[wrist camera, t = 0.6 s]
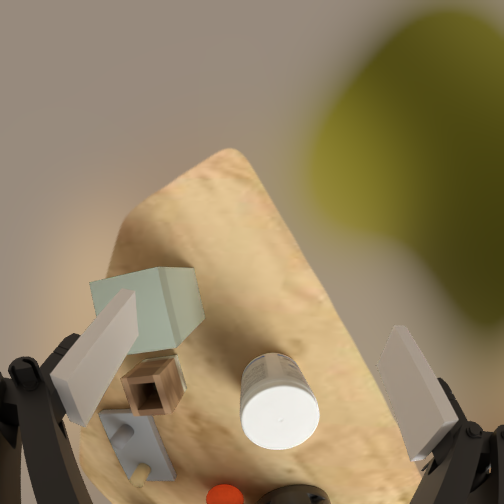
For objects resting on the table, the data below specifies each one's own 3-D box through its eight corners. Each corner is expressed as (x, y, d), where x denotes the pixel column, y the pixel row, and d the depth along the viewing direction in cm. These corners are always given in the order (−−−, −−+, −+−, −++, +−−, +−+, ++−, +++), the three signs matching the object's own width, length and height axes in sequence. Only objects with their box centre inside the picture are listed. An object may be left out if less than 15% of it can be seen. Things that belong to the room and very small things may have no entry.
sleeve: (186, 387, 45) (172, 413, 35) (154, 391, 45) (133, 416, 35) (177, 354, 46) (159, 374, 36) (144, 359, 45) (120, 378, 35)
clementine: (211, 502, 44) (207, 524, 37) (197, 480, 44) (191, 503, 37) (249, 497, 44) (248, 520, 37) (237, 474, 44) (235, 498, 37)
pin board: (176, 475, 44) (168, 496, 37) (132, 474, 44) (120, 493, 37) (149, 407, 45) (135, 425, 38) (102, 409, 45) (85, 425, 38)
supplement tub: (247, 407, 45) (245, 456, 30) (237, 356, 46) (230, 392, 31) (305, 398, 45) (323, 443, 30) (298, 345, 46) (316, 377, 31)
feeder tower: (205, 320, 46) (177, 350, 27) (158, 328, 46) (108, 359, 27) (194, 267, 46) (157, 266, 28) (147, 278, 46) (89, 282, 28)
